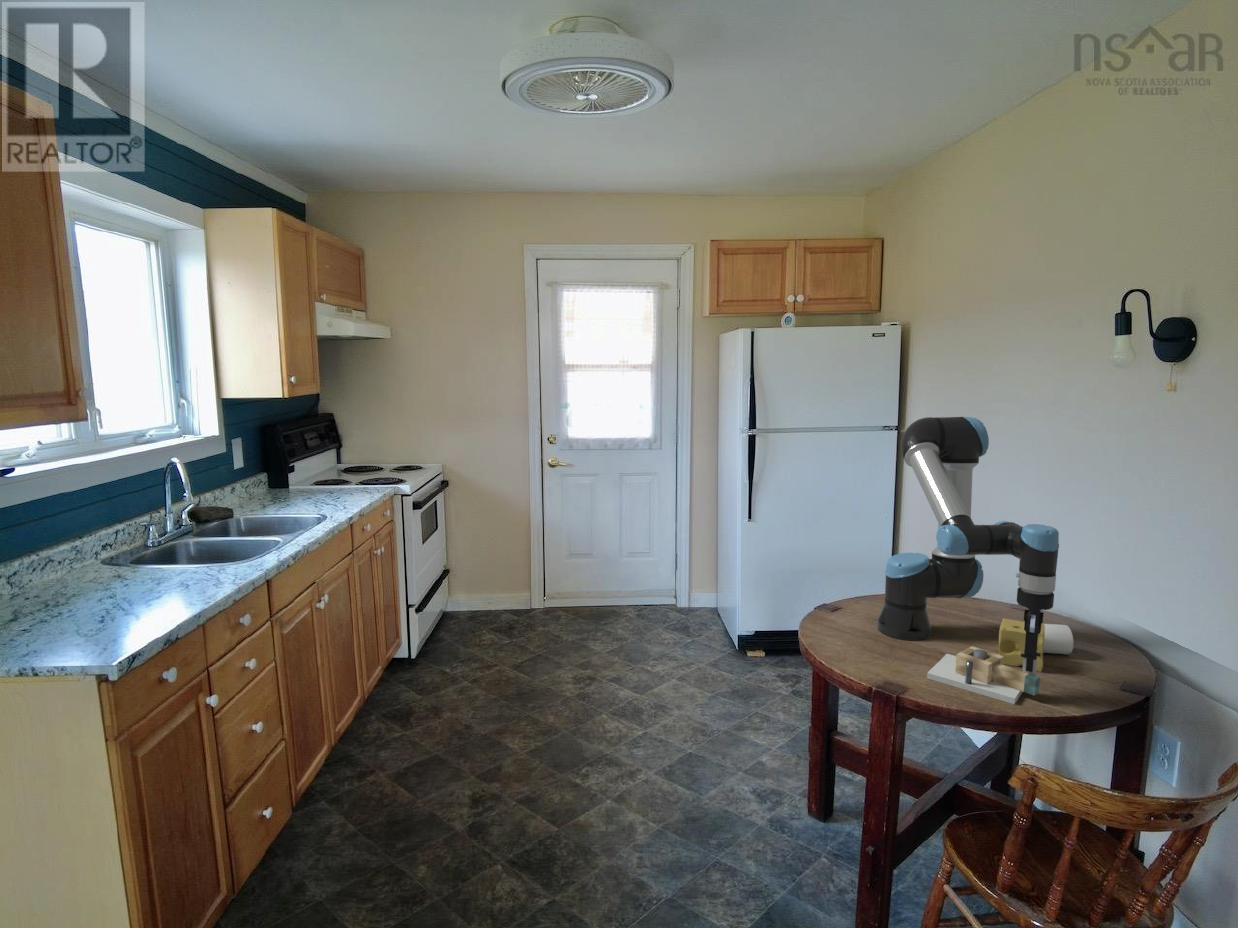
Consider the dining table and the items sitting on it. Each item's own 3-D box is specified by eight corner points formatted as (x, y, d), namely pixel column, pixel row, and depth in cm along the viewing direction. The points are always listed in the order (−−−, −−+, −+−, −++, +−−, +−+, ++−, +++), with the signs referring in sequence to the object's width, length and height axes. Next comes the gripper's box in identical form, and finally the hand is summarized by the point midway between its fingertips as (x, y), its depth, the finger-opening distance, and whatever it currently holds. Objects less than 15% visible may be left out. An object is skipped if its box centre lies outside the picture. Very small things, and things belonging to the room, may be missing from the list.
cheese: (1042, 673, 175) (1045, 636, 174) (995, 663, 181) (998, 628, 180) (1042, 658, 184) (1045, 623, 183) (997, 649, 190) (1000, 616, 188)
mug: (1072, 659, 183) (1075, 631, 182) (1032, 656, 185) (1034, 629, 184) (1053, 641, 195) (1056, 615, 194) (1016, 639, 197) (1018, 613, 196)
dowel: (964, 683, 167) (965, 662, 166) (966, 681, 168) (967, 660, 167) (970, 684, 166) (972, 663, 165) (972, 682, 167) (973, 662, 166)
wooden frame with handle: (955, 672, 173) (956, 653, 172) (970, 663, 177) (972, 646, 176) (1029, 699, 158) (1030, 679, 158) (1043, 689, 163) (1045, 670, 162)
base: (926, 678, 173) (928, 650, 172) (946, 658, 184) (948, 632, 183) (1014, 704, 159) (1016, 674, 158) (1029, 681, 171) (1032, 653, 169)
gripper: (1019, 579, 168) (1012, 668, 172) (1015, 594, 157) (1008, 688, 161) (1054, 584, 164) (1047, 675, 167) (1053, 600, 153) (1045, 696, 157)
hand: (1028, 681), depth 164 cm, fingers closed
